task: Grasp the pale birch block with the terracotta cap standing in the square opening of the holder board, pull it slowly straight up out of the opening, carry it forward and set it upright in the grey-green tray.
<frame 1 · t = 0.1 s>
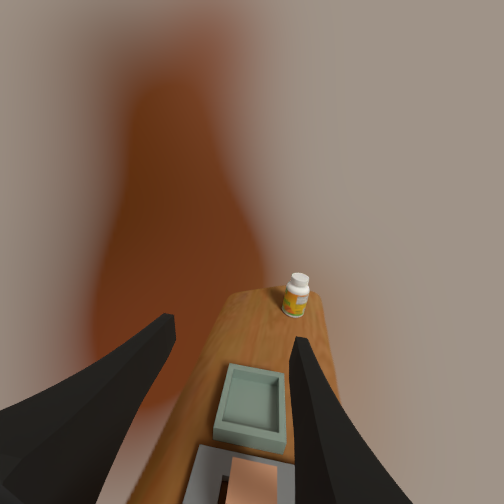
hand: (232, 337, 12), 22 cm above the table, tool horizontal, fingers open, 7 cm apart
tray: (251, 408, 28), on the table
supplement bottle: (292, 311, 50), on the table
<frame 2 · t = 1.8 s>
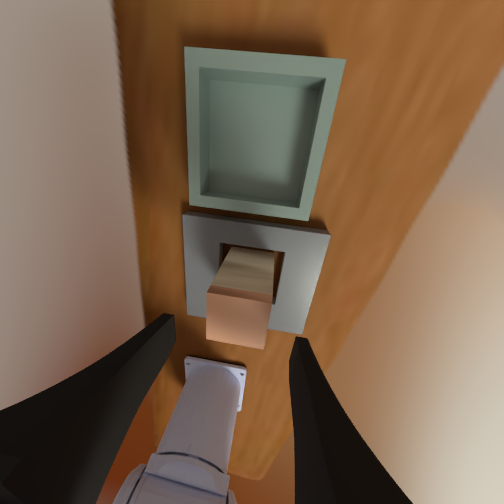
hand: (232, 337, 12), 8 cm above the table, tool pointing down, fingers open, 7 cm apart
tray: (258, 147, 15), on the table
holder board: (250, 268, 19), on the table
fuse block: (250, 268, 19), resting in holder board
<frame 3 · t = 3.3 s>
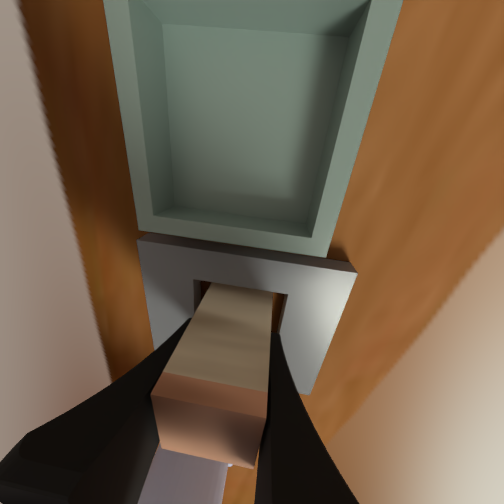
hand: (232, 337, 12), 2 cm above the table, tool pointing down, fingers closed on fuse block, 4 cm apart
tray: (246, 139, 9), on the table
holder board: (239, 309, 14), on the table
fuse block: (240, 309, 14), resting in holder board, touching gripper
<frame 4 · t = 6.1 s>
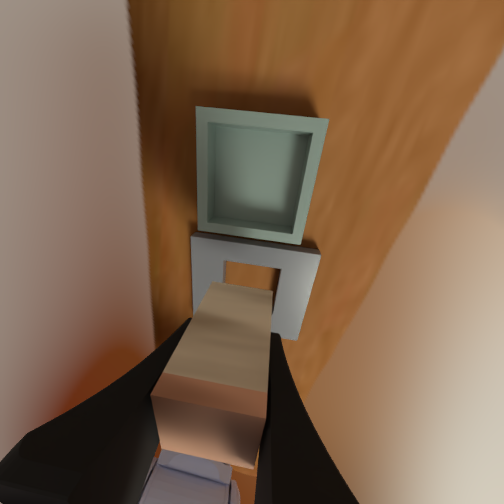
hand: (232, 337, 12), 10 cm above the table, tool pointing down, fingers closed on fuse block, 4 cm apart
tray: (257, 179, 17), on the table
holder board: (250, 281, 21), on the table
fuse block: (240, 309, 14), point 7 cm above the table, touching gripper
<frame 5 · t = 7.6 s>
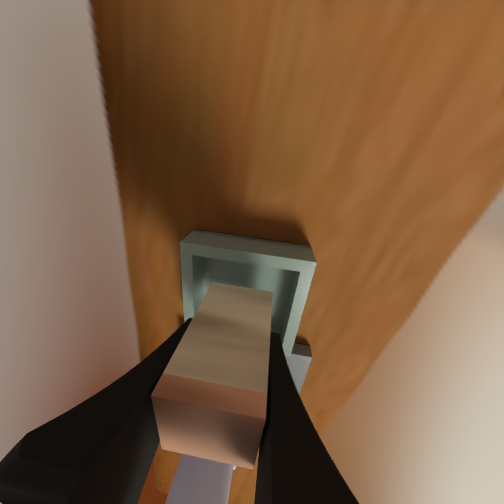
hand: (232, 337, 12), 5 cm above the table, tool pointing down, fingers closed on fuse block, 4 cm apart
tray: (246, 285, 16), on the table
holder board: (242, 367, 21), on the table
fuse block: (239, 310, 14), point 3 cm above the table, touching gripper
when the fingers open (4 cm above the table, at t = 8.7 s): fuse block drops 1 cm, resting on tray.
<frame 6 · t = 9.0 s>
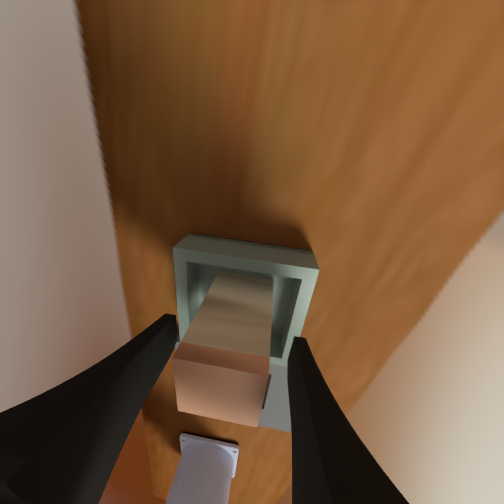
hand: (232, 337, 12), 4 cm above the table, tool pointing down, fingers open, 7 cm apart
tray: (244, 292, 16), on the table
holder board: (240, 375, 20), on the table
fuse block: (243, 297, 15), resting on tray
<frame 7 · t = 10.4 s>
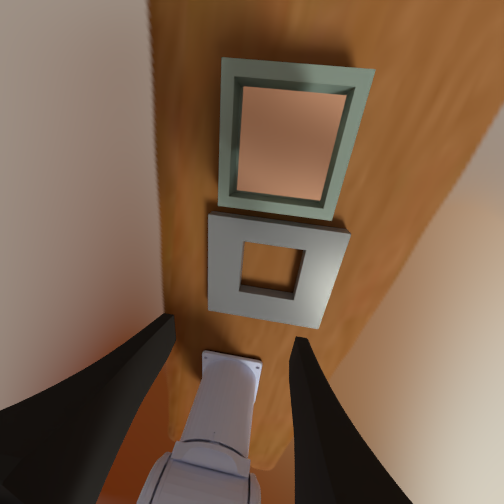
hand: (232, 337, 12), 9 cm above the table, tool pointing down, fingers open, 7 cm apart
tray: (282, 150, 15), on the table
holder board: (270, 266, 20), on the table
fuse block: (283, 151, 15), resting on tray
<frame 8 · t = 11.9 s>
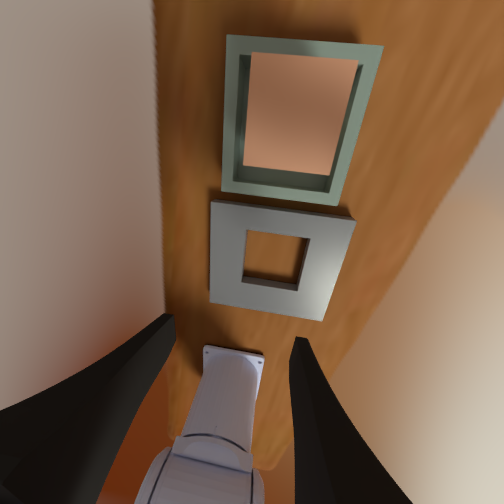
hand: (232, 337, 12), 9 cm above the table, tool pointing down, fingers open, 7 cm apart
tray: (287, 134, 15), on the table
holder board: (273, 256, 19), on the table
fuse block: (287, 135, 15), resting on tray
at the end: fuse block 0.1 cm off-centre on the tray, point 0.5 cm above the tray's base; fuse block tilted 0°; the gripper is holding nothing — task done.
